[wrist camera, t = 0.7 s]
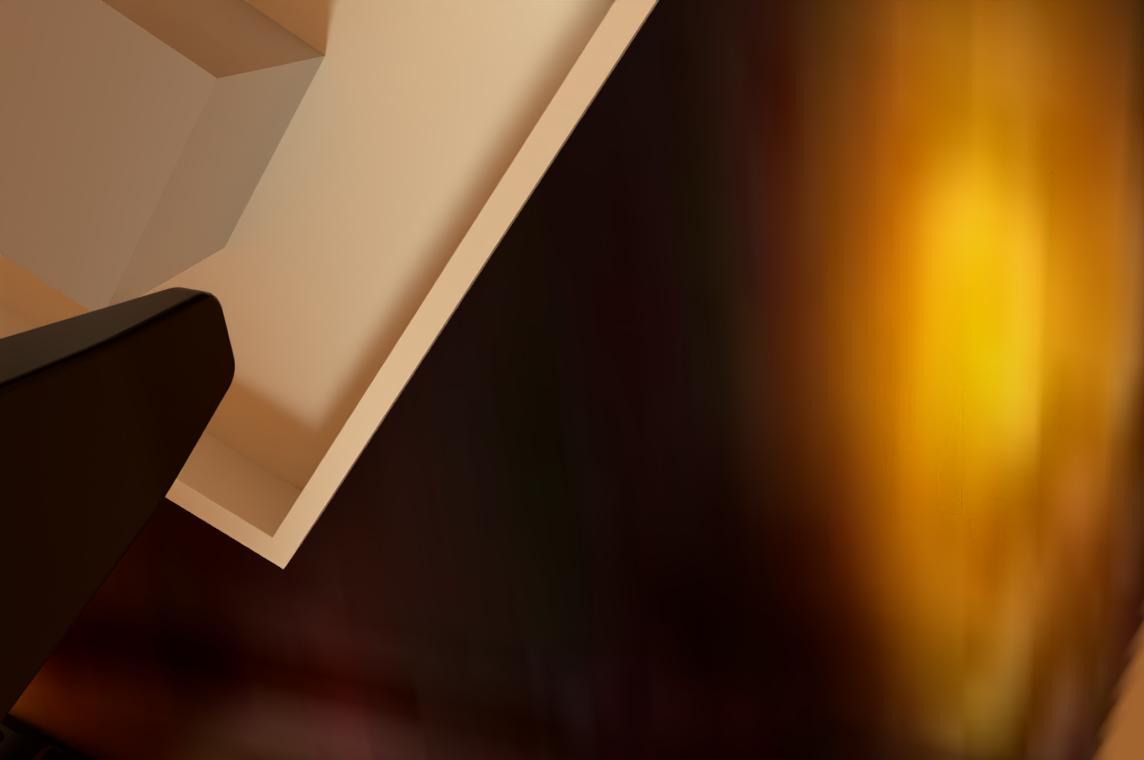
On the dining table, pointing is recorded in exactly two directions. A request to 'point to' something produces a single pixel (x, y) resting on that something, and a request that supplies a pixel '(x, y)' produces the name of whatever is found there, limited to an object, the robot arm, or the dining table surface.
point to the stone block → (136, 134)
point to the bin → (367, 231)
